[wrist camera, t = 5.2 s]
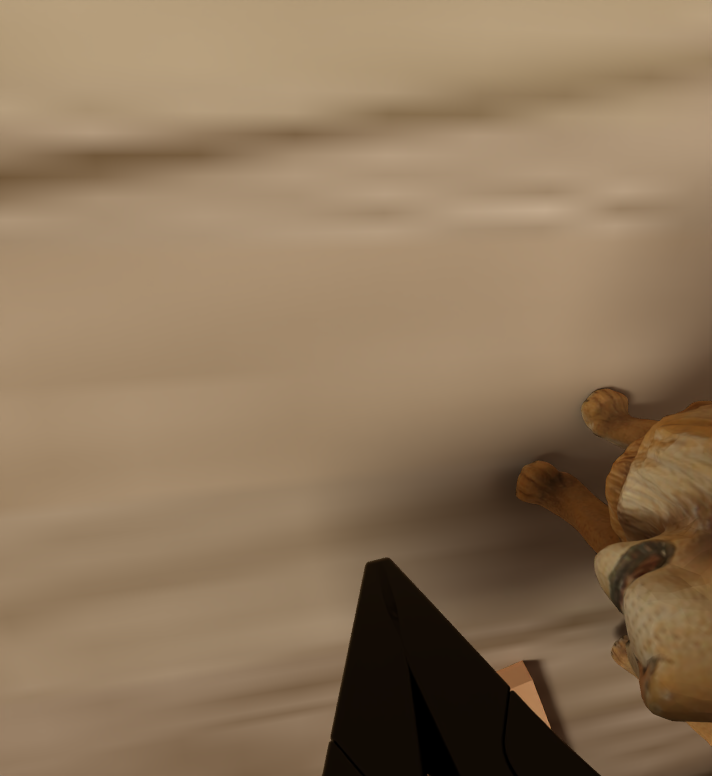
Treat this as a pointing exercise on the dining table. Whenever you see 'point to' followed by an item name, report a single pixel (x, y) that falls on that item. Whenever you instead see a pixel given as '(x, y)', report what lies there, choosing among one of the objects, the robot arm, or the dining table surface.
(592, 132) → the dining table surface
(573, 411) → the dining table surface
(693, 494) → the lion figurine
